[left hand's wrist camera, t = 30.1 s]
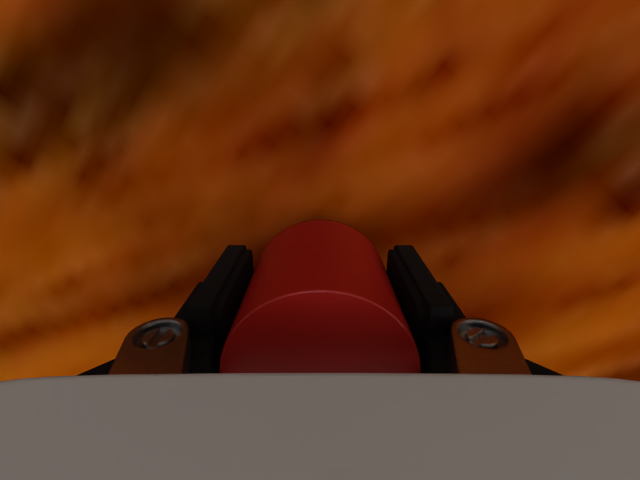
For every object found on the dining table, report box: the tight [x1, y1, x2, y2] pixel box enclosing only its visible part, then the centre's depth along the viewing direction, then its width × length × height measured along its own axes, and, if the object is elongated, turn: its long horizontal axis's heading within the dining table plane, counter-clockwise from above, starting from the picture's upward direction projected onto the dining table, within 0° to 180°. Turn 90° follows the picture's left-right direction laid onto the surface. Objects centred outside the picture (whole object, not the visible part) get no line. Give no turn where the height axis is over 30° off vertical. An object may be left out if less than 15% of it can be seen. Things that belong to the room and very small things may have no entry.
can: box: [219, 220, 421, 373], centre depth 10 cm, size 4×4×5 cm
